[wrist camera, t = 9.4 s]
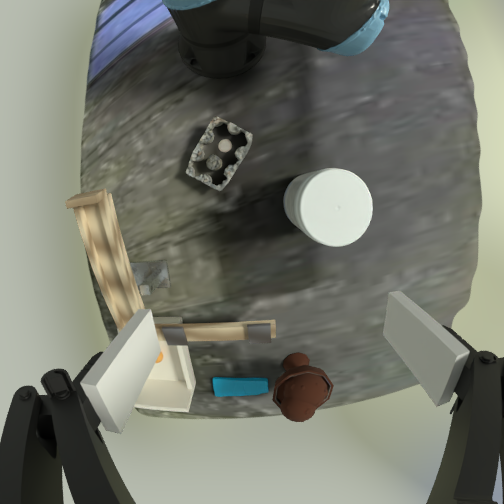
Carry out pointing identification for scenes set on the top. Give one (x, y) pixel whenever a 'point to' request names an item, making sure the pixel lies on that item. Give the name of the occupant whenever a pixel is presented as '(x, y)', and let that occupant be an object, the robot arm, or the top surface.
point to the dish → (169, 377)
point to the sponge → (239, 386)
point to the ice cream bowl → (301, 388)
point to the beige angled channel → (124, 285)
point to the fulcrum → (150, 275)
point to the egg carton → (223, 146)
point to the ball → (159, 358)
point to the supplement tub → (329, 206)
